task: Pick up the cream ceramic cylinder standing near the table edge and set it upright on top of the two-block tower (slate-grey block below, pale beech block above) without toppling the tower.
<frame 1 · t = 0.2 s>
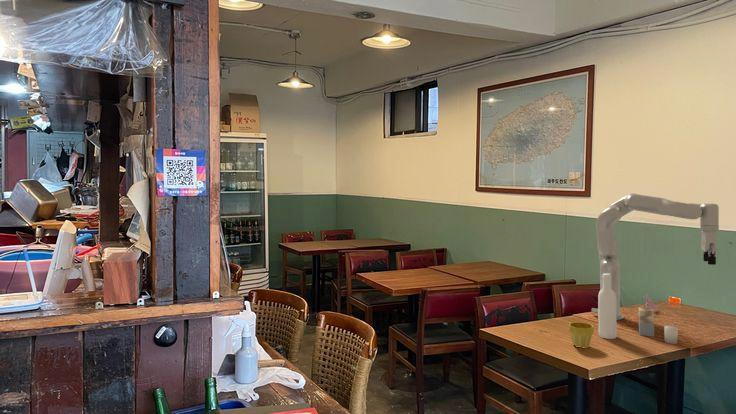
hand: (709, 262, 252), 31 cm above the table, tool pointing down, fingers open, 9 cm apart
cylinder: (670, 342, 230), on the table
tower top: (646, 321, 242), point 6 cm above the table, touching tower base
plant pot: (581, 346, 229), on the table
lily: (649, 311, 280), on the table
tower base: (646, 333, 242), on the table, touching tower top
bottle: (607, 337, 240), on the table
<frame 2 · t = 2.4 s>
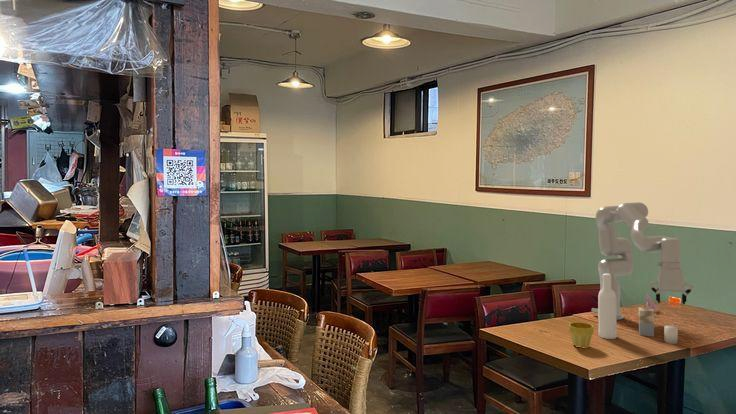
hand: (671, 302, 229), 18 cm above the table, tool pointing down, fingers open, 9 cm apart
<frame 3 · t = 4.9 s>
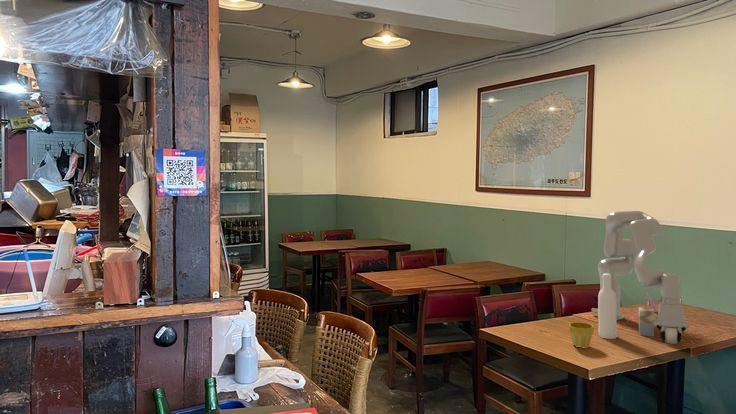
hand: (670, 339, 230), 1 cm above the table, tool pointing down, fingers closed on cylinder, 5 cm apart
cylinder: (670, 342, 230), on the table, touching gripper
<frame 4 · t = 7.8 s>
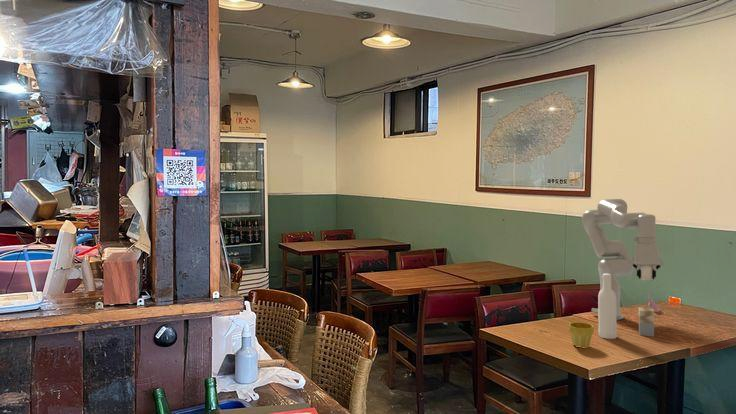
hand: (646, 277, 241), 27 cm above the table, tool pointing down, fingers closed on cylinder, 5 cm apart
cylinder: (646, 279, 241), point 26 cm above the table, touching gripper
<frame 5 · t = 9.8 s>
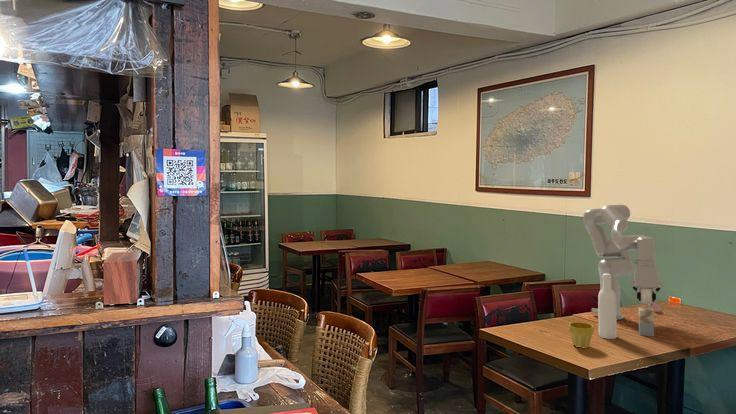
hand: (646, 300, 241), 16 cm above the table, tool pointing down, fingers closed on cylinder, 5 cm apart
cylinder: (646, 302, 241), point 15 cm above the table, touching gripper
when the fingers open (14 cm above the table, at t = 11.1 s): cylinder drops 1 cm, resting on tower top.
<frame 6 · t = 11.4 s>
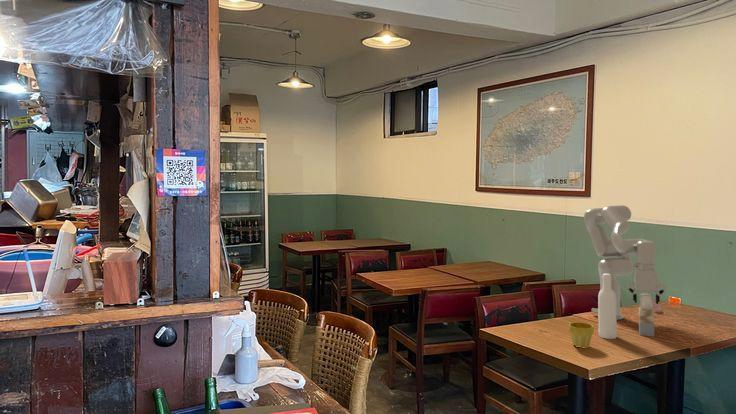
hand: (646, 302, 242), 15 cm above the table, tool pointing down, fingers open, 8 cm apart
cylinder: (646, 309, 242), point 12 cm above the table, touching tower top
tower top: (646, 321, 242), point 6 cm above the table, touching cylinder, tower base
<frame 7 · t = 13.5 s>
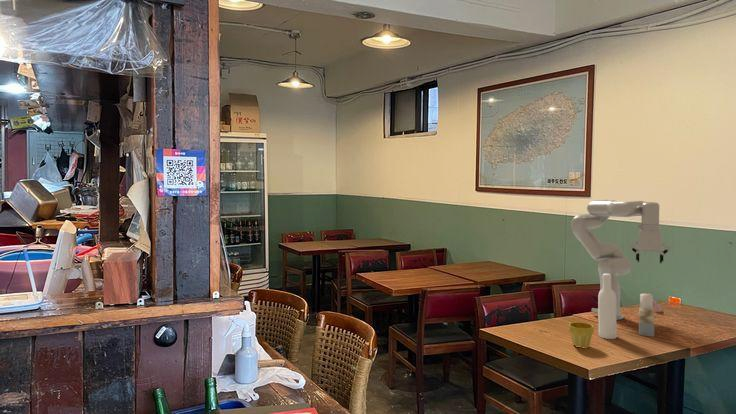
hand: (649, 262, 248), 33 cm above the table, tool pointing down, fingers open, 9 cm apart
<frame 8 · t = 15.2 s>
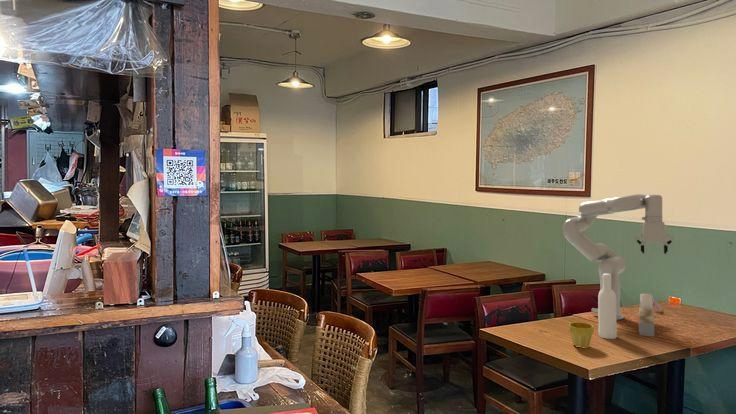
hand: (654, 253, 255), 36 cm above the table, tool pointing down, fingers open, 9 cm apart
at the end: cylinder 0.0 cm off-centre on the tower top, point 6.0 cm above the tower top's base; cylinder tilted 0°; tower top tilted 0° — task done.
